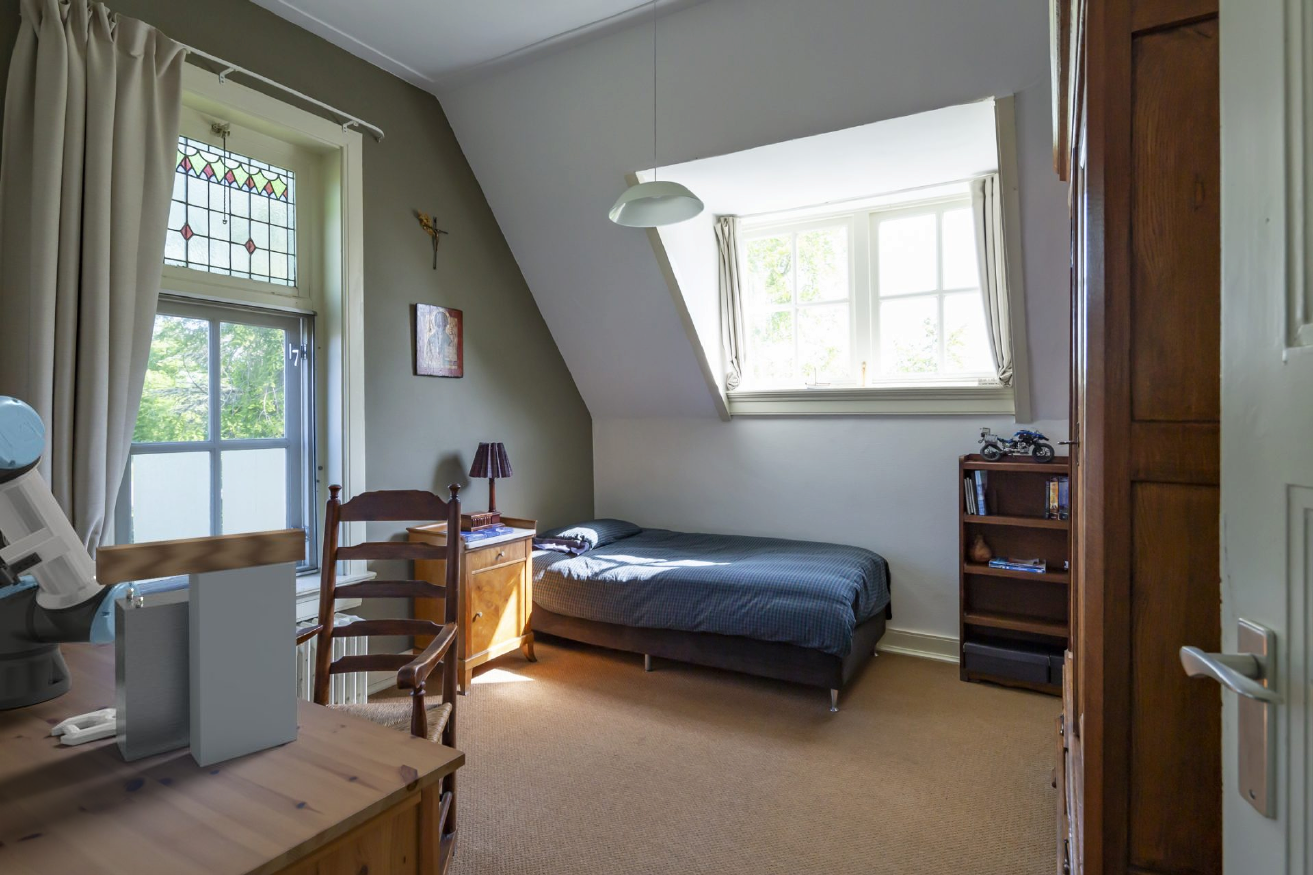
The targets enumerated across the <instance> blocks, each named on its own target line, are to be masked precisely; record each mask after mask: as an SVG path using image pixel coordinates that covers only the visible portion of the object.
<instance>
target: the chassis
mask: <svg viewBox="0 0 1313 875" xmlns="http://www.w3.org/2000/svg"><path fill="white" fill-rule="evenodd" d="M114 611H115V642H114V679H115V680H114V682H115V684H114V685H115V686H114V689H115V691H114V692H115V693H114V694H115V698H114V699H115V709H116V735H115V742H116V744H117V747H118V749H119V751H120V753H121V755H122V756H123V758H124V761H125V763H128V762H131V761H135V760H140V759H143V758H147V757H151V756H155V755H158V754H162V753H166V752H169V751H174V750H177V749H180V748H184V747H188V746H189V747H190V669H189V588H184V589H175V590H170V591H163V592H162V591H160V592H155V593H146V594H141V595H139V596H134V588H128V589H126V597H124V598H117V599H114Z"/></svg>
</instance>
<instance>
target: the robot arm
mask: <svg viewBox="0 0 1313 875" xmlns="http://www.w3.org/2000/svg"><path fill="white" fill-rule="evenodd" d="M45 435H46V429H45V425H44V422H43V421H42V419H41V417H40V415H39V414H38V413H37V411H35V409H34V408H32V406H30V405H29V404H28V403H26V402H24V401H22V400H21V399H18V398H15V397H12V396H8V395H0V532H1V533H2V534H3V536H4V537H5V539H6V540H7V541H8V543H9V545H7V546H5V547H2V548H1V549H0V711H1V710H9V709H16V708H21V707H25V706H31V705H34V704H38V703H42V702H45V701H48V700H51V699H54V698H57V697H59V696H62V695H64V694H66V693H67V692H69V691H70V689H71V688H72V674H71V671H70V670H69V668H68V666H67V663H66V661H65V658H64V656H63V655H62V651H61V648H60V645H61V644H67V645H68V644H69V645H72V644H73V645H75V644H76V645H78V644H79V645H81V644H82V645H99V644H109V643H115V611H114V599H117V598H124V597H126V589H128V588H134V596H139V595H142V594H141V591H140V588H139V586H138V585H137V584H135V583H134V582H132V581H131V582H123V583H115V584H107V585H99V584H98V583H97V582H96V562H95V561H94V560H93V559H92V557H91V556H90V554H89V552H88V551H87V549H86V547H85V546H84V544H83V542H82V541H81V539H80V537H79V536H78V533H77V532H76V531H75V529H74V527H73V526H72V525H71V522H70V521H69V519H68V517H67V516H66V514H65V512H64V511H63V509H62V507H61V506H60V504H59V503H58V502H57V500H56V498H55V496H54V495H53V493H52V491H51V489H50V488H49V487H48V484H47V483H46V481H45V480H44V478H43V476H42V475H41V473H40V472H39V470H38V466H40V464H41V461H42V460H43V457H42V456H43V455H42V453H43V451H44V448H45V446H46V439H44V438H43V436H45ZM28 573H30V574H29V575H27V574H28Z"/></svg>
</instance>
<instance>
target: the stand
mask: <svg viewBox="0 0 1313 875" xmlns="http://www.w3.org/2000/svg"><path fill="white" fill-rule="evenodd" d="M188 589H189V669H190V745H189V747H190V748H189V750H190V751H189V753H190V754H191V756H192V757H193V758H194V760H195V762H197V764H198V765H199V767H200V768H203V767H207V766H210V765H214V764H217V763H220V762H224V761H228V760H232V759H235V758H238V757H241V756H245V755H248V754H253V753H255V752H256V753H257V752H259V751H263V750H266V749H271V748H273V747H276V746H277V747H278V746H280V745H283V744H286V743H291V742H294V741H297V740H298V704H297V703H298V695H297V694H298V692H297V691H298V689H297V688H298V686H297V682H298V681H297V678H298V677H297V676H298V675H297V673H298V672H297V669H298V667H297V666H298V665H297V663H298V662H297V660H298V658H297V657H298V656H297V655H298V654H297V653H298V652H297V648H298V647H297V646H298V645H297V561H292V562H284V563H276V564H268V565H260V566H252V567H244V568H236V569H228V570H220V571H212V572H203V573H195V574H188Z"/></svg>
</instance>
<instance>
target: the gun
mask: <svg viewBox="0 0 1313 875" xmlns="http://www.w3.org/2000/svg"><path fill="white" fill-rule="evenodd" d="M50 731H51V732H50V733H51V736H52V737H55V736H58V735H59V736H60V735H62V736H60V744H63V745H68V746H77V745H81V744H85V743H89V742H93V741H97V740H101V739H105V738H109V737H113V736H116V708H104V709H100V710H97V711H91V712H89V713H84V714H79V715H77V716H73V717H72V716H71V717H68V718H66V719H65V720H63V721H62V722H60V723H59V724H57V725H56V726H54V727H53V728H51V729H50Z"/></svg>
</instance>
